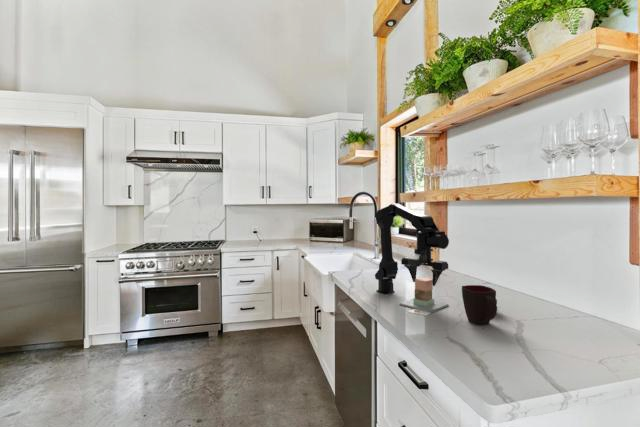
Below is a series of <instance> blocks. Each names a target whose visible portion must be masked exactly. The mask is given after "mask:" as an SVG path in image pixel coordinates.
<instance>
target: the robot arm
mask: <svg viewBox="0 0 640 427" xmlns="http://www.w3.org/2000/svg"><path fill="white" fill-rule="evenodd" d="M398 216H399V217H401V218H403V219H404V220H406V221H408V222H410V224H411V226H412V227H413V228H414V229H415V231H414V232H412V235H415V236H416V248H415V249H414V252H413V253H412V254H410V255H409V256H406V257H405V256H404V257H402V259H401V260H400V261H401V262H400V263H401V265H403V266H404V267H405V268H406V269H407V270H408V271H409V273H410V278H411V279H412V282H413V283H415V279H417V270H418V267H420V266H427V267H431V273H432V280H433V287H436V284H437V282H438V280H439V278H440V276H441V274H443V272H444V271H446V270H449V263H448V261H445V260H444V261H443V260H436V261H434V258H433V257H432V252H433V251H434V249H441V250H442V249H443V250H444V249H446V248H448V246H449V244H450V239H449V237H448V235H446V232H445V230H440V229H439V227H438V226H437V225H436V223H435V221H434V218H433V217H432V216H431V215H428V214H427V215H426V214H421V213H417V212H415V211H413V210H411V209H409V208H407V207H406V206H403V205H402V204H400V203H391V204H389V205H387V206H386V207H383V208H380V209H378V210H377V211H376V212H375V221H376V224H377V225H378V227H379V230H380V231H379V232H380V247H381V248H380V249H381V260H380V261H379V264H378V270H377V271H376V272H375V274H374V277H375V278H374V279H375V280H377V282H378V284H377V285H378V289H377V290H376V291H375V292H377V293H381V294H384V295H385V294H386V295H387V294H388V295H389V294H392V293H395V292H396V291H395V290H394V283H393V282H394V281H393V280H395V279H396V278H397V275H398V271H399V268H398V264H399V263H398V261H395V259H394V258H393V246H392V245H393V243H392V226H393V224H394V219H395V217H398Z"/></svg>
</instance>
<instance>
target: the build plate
mask: <svg viewBox="0 0 640 427" xmlns="http://www.w3.org/2000/svg"><path fill="white" fill-rule="evenodd" d="M399 305H400V306H402V307H406V308H411V309H412V310H413V309H418V310H421V311H425V312H429V313H430V314H432V313H433V312H434V313H435V312H437V311H439V310H442V309H444V308H447V307H449V303H446V302H442V301H438V300H435V298H433V297H432V299H431V300H428V301H422V300H418V299H415V297H414V298H411V299H408V300H405V301H402V302H399Z"/></svg>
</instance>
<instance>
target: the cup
mask: <svg viewBox="0 0 640 427" xmlns="http://www.w3.org/2000/svg"><path fill="white" fill-rule="evenodd" d="M461 295H462V301H463V302H462V303H463V308H464V312H465V314H466V318H467V321H468V322H469V323H471V324H472V325H475V326H487V325H490V322H491V320H493V319H494V318H495V317H496V315H497V313H498V306H497V305H496V302H495V300H496V299H497V290H495V289H494V288H492V287H489V286H486V285H485V286H484V285H479V284H477V285H476V284H474V285H473V284H471V285H469V284H468V285H462V286H461Z"/></svg>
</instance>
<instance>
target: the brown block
mask: <svg viewBox="0 0 640 427" xmlns="http://www.w3.org/2000/svg"><path fill="white" fill-rule="evenodd" d="M414 298H415V299H418V300H422V301H428V300H431V299H432V298H433V289H432V290H429V291H422V290H417V289H415V288H414Z"/></svg>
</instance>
